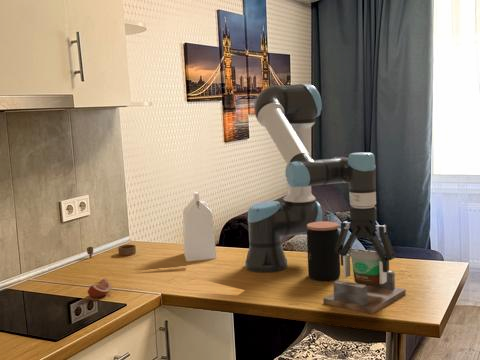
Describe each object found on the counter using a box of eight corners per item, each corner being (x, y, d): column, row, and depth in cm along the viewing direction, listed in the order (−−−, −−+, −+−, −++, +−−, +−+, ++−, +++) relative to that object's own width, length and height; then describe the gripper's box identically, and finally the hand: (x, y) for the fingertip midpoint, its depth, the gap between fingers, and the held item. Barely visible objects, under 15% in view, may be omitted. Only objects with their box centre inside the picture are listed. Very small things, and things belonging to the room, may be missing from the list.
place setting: (130, 264, 227) (129, 249, 226) (85, 263, 233) (84, 248, 232) (150, 253, 244) (149, 239, 243) (107, 252, 250) (106, 238, 249)
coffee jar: (316, 271, 204) (314, 220, 201) (345, 274, 198) (343, 222, 196) (303, 279, 195) (301, 226, 192) (333, 283, 189) (331, 228, 187)
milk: (183, 255, 234) (179, 191, 231) (212, 253, 236) (208, 189, 233) (186, 263, 223) (182, 195, 219) (216, 260, 225) (212, 193, 221)
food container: (343, 284, 172) (342, 250, 171) (351, 278, 178) (349, 246, 176) (384, 288, 166) (383, 254, 165) (391, 282, 171) (390, 249, 170)
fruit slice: (98, 291, 193) (97, 277, 192) (116, 293, 191) (115, 278, 190) (83, 300, 185) (82, 284, 184) (102, 301, 183) (101, 285, 182)
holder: (323, 303, 171) (322, 280, 170) (358, 285, 186) (357, 264, 185) (372, 314, 160) (372, 289, 159) (405, 294, 175) (405, 271, 174)
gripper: (321, 205, 174) (323, 276, 177) (394, 211, 159) (396, 289, 162) (334, 201, 180) (336, 270, 183) (407, 206, 165) (408, 282, 167)
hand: (364, 279), depth 172 cm, fingers closed on food container, 11 cm apart
